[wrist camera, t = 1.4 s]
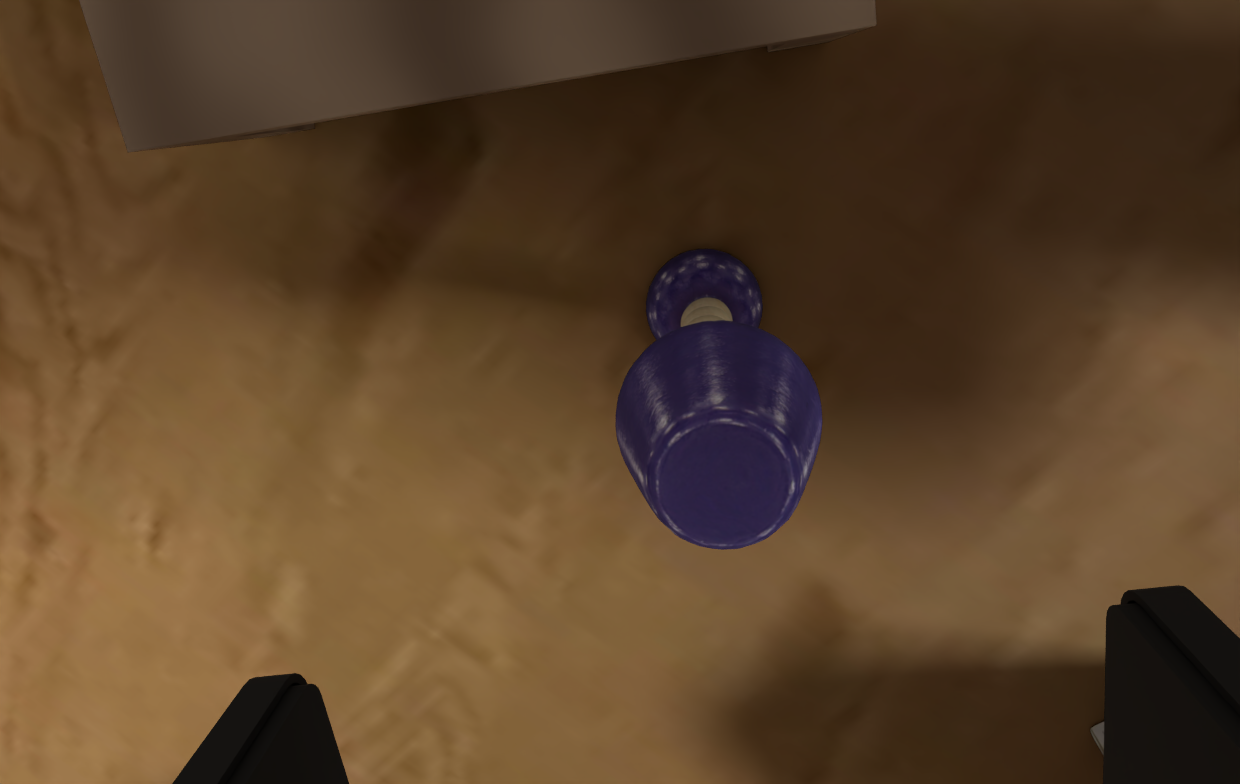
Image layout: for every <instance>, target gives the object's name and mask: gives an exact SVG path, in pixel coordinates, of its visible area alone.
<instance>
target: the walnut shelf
mask: <svg viewBox="0 0 1240 784" xmlns="http://www.w3.org/2000/svg"><path fill="white" fill-rule="evenodd" d="M79 1H80V5H81V8H82V11H83V14H84V17H85V20H86V23H87V26H88V30H89V33H90V36H91V39H92V42H93V45H94V48H95V51H96V54H97V58H98V61H99V64H100V67H101V70H102V73H103V76H104V79H105V83H106V86H107V89H108V92H109V95H110V98H111V101H112V104H113V107H114V111H115V114H116V117H117V120H118V123H119V126H120V129H121V132H122V136H123V139H124V142H125V145H126V148H127V151H128V152H136V151H145V150H154V149H163V148H172V147H181V146H190V145H199V144H208V143H217V142H226V141H235V140H244V139H253V138H262V137H268V136H274V135H280V134H286V133H292V132H298V131H304V130H310V129H315V126H314V123H318V122H324V121H330V120H336V119H342V118H348V117H354V116H360V115H365V114H371V113H377V112H383V111H389V110H395V109H401V108H407V107H413V106H419V105H424V104H430V103H436V102H442V101H448V100H454V99H460V98H466V97H472V96H478V95H483V94H489V93H495V92H501V91H507V90H513V89H519V88H525V87H531V86H537V85H542V84H548V83H554V82H560V81H566V80H572V79H578V78H584V77H590V76H596V75H601V74H607V73H613V72H619V71H625V70H631V69H637V68H643V67H649V66H655V65H660V64H666V63H672V62H678V61H684V60H690V59H696V58H702V57H708V56H714V55H719V54H725V53H731V52H737V51H743V50H749V49H755V48H761V47H767V50H768V52H772V51H778V50H784V49H790V48H796V47H802V46H807V45H813V44H819V43H825V42H830V41H833V40H836V39H838V38H841V37H844V36H847V35H850V34H853V33H856V32H858V31H861V30H864V29H867V28H870V27H873V26H876V25H877V24H876V7H875V0H79Z"/></svg>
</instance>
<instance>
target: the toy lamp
mask: <svg viewBox="0 0 1240 784" xmlns="http://www.w3.org/2000/svg"><path fill="white" fill-rule="evenodd" d="M762 307H763V305H762V295H761V292H760V288H759V285H758V283H757V280H756V278H755V277H754V275H753V274H752V272H751V271H750V270H749V269H748V267H747V266H745V265H744V264H743V263H742V262H741V261H740V260H738V259H736V258H735V257H733V256H731V255H730V254H728V253H726V252H722V251H718V250H713V249H697V250H692V251H687V252H684V253H682V254H679V255H678V256H676V257H674V258H672V259H671V260H670V261H668V262H667V263H666V264H665V265H664V266H663V267H662V268H661V269H660V270H659V271H658V273H657V274H656V276H655V278H654V280H653V281H652V283H651V285H650V287H649V291H648V295H647V301H646V313H647V319H648V323H649V326H650V329H651V331H652V333H653V335H654V337H655V338H656V341H655V342H654V343H653V344H651V345H650V346H649V347H648V348H647V349H646V350H645V351H644V352H643V353H642V354H641V355H640V357H639V358H638V359H637V360H636V361H635V362H634V364H633V365H632V367H631V368H630V370H629V371H628V373H627V375H626V377H625V379H624V382H623V385H622V387H621V390H620V393H619V396H618V402H617V409H616V433H617V440H618V444H619V447H620V451H621V454H622V456H623V459H624V461H625V463H626V465H627V467H628V469H629V471H630V473H631V475H632V477H633V478H634V480H635V482H636V484H637V486H638V487H639V489H640V491H641V492H642V494H643V496H644V498H645V499H646V501H647V503H648V504H649V506H650V507H651V509H652V510H653V512H654V513H655V515H656V516H657V517H658V519H659V520H660V521H661V522H662V523H663V524H664V525H666V526H667V527H668V528H669V529H670V530H671V531H672V532H673V533H674V534H675V535H677V536H678V537H680V538H682V539H684V540H686V541H688V542H690V543H693V544H696V545H698V546H702V547H707V548H712V549H739V548H742V547H745V546H749V545H752V544H756V543H758V542H760V541H762V540H764V539H766V538H768V537H769V536H770V535H772V534H773V533H774V532H775V531H777V530H778V529H779V528H780V527H781V526H782V525H783V524H784V523H785V522H786V521H788V520H789V518H790V517H791V515H792V513H793V512H794V510H795V509H796V507H797V505H798V503H799V501H800V498H801V496H802V494H803V491H804V489H805V486H806V483H807V481H808V478H809V476H810V473H811V470H812V467H813V464H814V461H815V458H816V454H817V451H818V447H819V443H820V438H821V430H822V409H821V402H820V397H819V393H818V389H817V387H816V384H815V382H814V380H813V378H812V376H811V374H810V372H809V370H808V368H807V367H806V366H805V364H804V363H803V361H802V360H801V359H800V357H799V356H798V355H797V354H796V353H795V352H794V351H793V350H792V349H791V348H790V347H789V346H787V345H786V344H785V343H783V342H782V341H781V340H780V339H778V338H777V337H775V336H774V335H772V334H770V333H768V332H766V331H764V330H762V329H759V328H758V327H759V324H760V321H761V317H762Z"/></svg>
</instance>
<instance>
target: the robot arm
mask: <svg viewBox="0 0 1240 784" xmlns="http://www.w3.org/2000/svg"><path fill="white" fill-rule="evenodd" d="M173 784H349V782H348V778H347V775H346V772H345V769H344V766H343V763H342V759H341V756H340V753H339V750H338V747H337V743H336V740H335V737H334V734H333V731H332V727H331V724H330V721H329V718H328V715H327V711H326V708H325V705H324V702H323V699H322V695H321V693H320V691H319V688H318V687H317V686H316V685H314V684H307V682H306V680H305V679H304V678H303V677H302V676H301V675H300V674H296V673H294V674H284V675H274V676H264V677H255V678H252V679H250V680H249V681H248V682H247V683H246V684H245V685H244V686H243V687H242V689H241V690H240V691H239V693H238V694H237V696H236V697H235V698H234V700H233V701H232V702H231V704H230V705H229V707H228V708H227V709H226V711H225V712H224V713H223V715H222V716H221V718H220V719H219V720H218V722H217V723H216V724H215V726H214V727H213V729H212V730H211V731H210V733H209V734H208V735H207V737H206V738H205V740H204V741H203V742H202V744H201V745H200V746H199V748H198V749H197V751H196V752H195V753H194V755H193V756H192V757H191V759H190V760H189V762H188V763H187V764H186V766H185V767H184V768H183V770H182V771H181V773H180V774H179V775H178V777H177V778H176V779H175V781H174V782H173ZM1103 784H1240V638H1239V637H1238V636H1237V635H1236V634H1235V633H1233V632H1232V631H1231V630H1230V629H1229V628H1228V627H1227V626H1226V625H1225V624H1224V623H1223V622H1222V621H1221V620H1220V619H1219V618H1218V617H1217V616H1216V615H1215V614H1214V613H1213V612H1212V611H1211V610H1210V609H1209V608H1208V607H1207V606H1206V605H1205V604H1204V603H1203V602H1201V601H1200V600H1199V599H1198V598H1197V597H1196V596H1195V595H1194V594H1193V593H1192V592H1191V591H1190V590H1188V589H1187V588H1186V587H1184V586H1168V587H1157V588H1147V589H1137V590H1128V591H1127V592H1125V593H1124V594H1123V597H1122V599H1121V605H1112V606H1110V607H1109V608H1108V611H1107V616H1106V658H1105V711H1104V765H1103Z"/></svg>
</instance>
